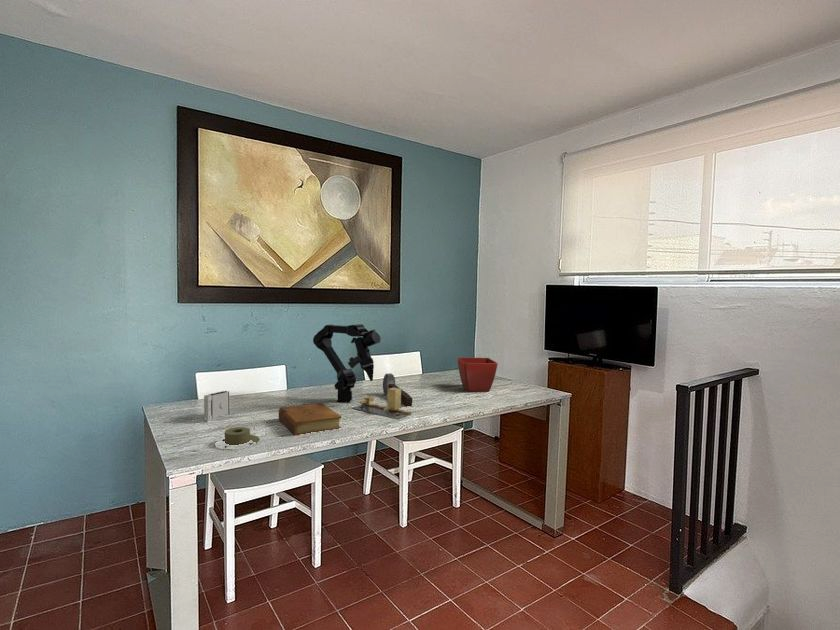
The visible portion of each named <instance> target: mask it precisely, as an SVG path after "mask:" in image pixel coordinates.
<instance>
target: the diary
mask: <svg viewBox="0 0 840 630" xmlns="http://www.w3.org/2000/svg"><path fill="white" fill-rule="evenodd" d="M340 419H342V416H341V415H340V414H339V413H337V412H336V411H334V410H333V409H332V408H330V407H328V406H327V405H325V404H324V403H322V402H318V403H309V404H302V405H294V406H293V405H292V406H285V407H284V406H283V407H280V408H279V409H278V420H279V421H280V422H281V423H282V424H283V425H284V426H285V427H286V428H287V429H288V430H289V431H290V432H291V433H292V434H293V435H294V436H295V435H297V436H301V435H300V434H304V435H307V434H306V433H310V434H312V433H311V432H317V433H320V432H319V431H323V432H326V431H325V430H329V431H334V430H333V429H336V430H340V429H339V428H341V429H342V427H341V426H340Z"/></svg>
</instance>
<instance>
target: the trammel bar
mask: <svg viewBox="0 0 840 630" xmlns="http://www.w3.org/2000/svg"><path fill="white" fill-rule="evenodd" d="M374 401H375V400H374V397H373V396H370V395H369V396H365V397H364V399H363V400H360V401H359V404H360V405H361V407H363V405H366V406H371V407H375V408H380V409H383V408H386V407H387V405H386V406H384V405H381V404H376V403H375V404H374ZM388 410H389V411H394V412H399V413H403V414H408V416H411V415H412V411H411V410H410V411H409V410H406V409H405V410H404V409H401V408H400V409H397V410H392V409H388Z"/></svg>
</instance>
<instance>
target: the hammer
mask: <svg viewBox="0 0 840 630" xmlns="http://www.w3.org/2000/svg"><path fill="white" fill-rule="evenodd" d="M393 387H394V388H399V389H401V405H403V406H404V407H405V406H406V408H408V407H407V406H410V407H412V405H413V397H412V396H411V395H410V394H409V393H407V392H406V391H404V390H403V389H402V388H400V387H399V386H398V385H396V378H395V376H394V374H393V373H392V372H391V373H385V374H384V376H383V379H382V391H383V392H382V393H383V394H384V395H385V396H388V389H390V388H393Z"/></svg>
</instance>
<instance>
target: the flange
mask: <svg viewBox="0 0 840 630" xmlns="http://www.w3.org/2000/svg"><path fill="white" fill-rule="evenodd" d="M224 437H225V443H226V444H229V445H239V444H244V443H247V442H249V441H250V440H252V441H253V442H256V443H257V442H258V441H259V440H260V439H261V438H260V437H259V436H257V435H254V434H251V429H250V428H249V427H244V426H243V427H242V426H241V427H239V426H238V427H232V428H228V429H226V430H225V431H224ZM259 442H260V441H259Z"/></svg>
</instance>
